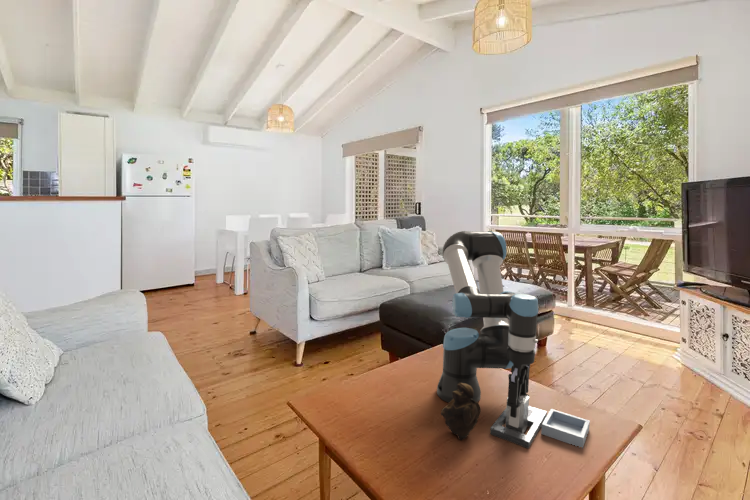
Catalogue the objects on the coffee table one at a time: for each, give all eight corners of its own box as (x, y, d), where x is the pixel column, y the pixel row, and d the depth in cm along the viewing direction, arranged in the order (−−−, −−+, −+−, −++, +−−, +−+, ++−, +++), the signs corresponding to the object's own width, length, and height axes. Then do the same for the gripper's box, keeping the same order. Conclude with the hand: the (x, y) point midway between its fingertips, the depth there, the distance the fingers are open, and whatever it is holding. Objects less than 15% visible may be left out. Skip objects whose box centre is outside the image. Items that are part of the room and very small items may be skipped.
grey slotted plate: (490, 434, 114) (490, 427, 114) (511, 406, 130) (512, 400, 130) (528, 448, 108) (528, 441, 107) (546, 417, 124) (546, 411, 123)
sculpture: (428, 420, 115) (450, 374, 116) (454, 431, 119) (475, 386, 120) (448, 440, 105) (472, 389, 106) (476, 450, 109) (498, 401, 111)
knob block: (505, 429, 116) (507, 396, 115) (510, 421, 120) (512, 389, 119) (522, 435, 113) (524, 401, 112) (527, 427, 117) (529, 394, 116)
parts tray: (541, 433, 115) (541, 424, 114) (550, 417, 123) (550, 408, 123) (582, 448, 108) (583, 438, 108) (589, 430, 117) (589, 420, 116)
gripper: (525, 360, 104) (520, 440, 107) (542, 341, 118) (537, 412, 121) (497, 353, 108) (493, 430, 111) (517, 336, 123) (513, 404, 126)
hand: (516, 421), depth 116 cm, fingers closed on knob block, 5 cm apart
